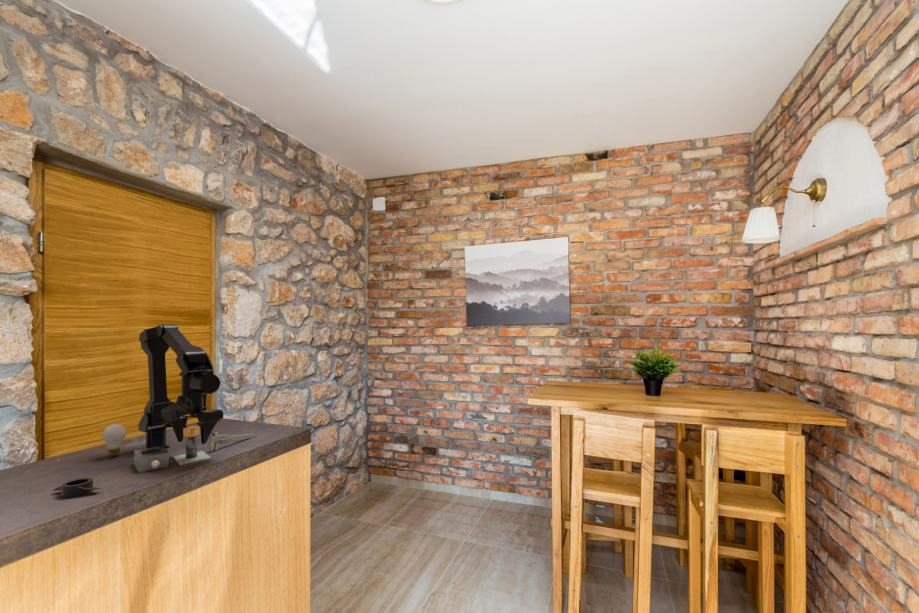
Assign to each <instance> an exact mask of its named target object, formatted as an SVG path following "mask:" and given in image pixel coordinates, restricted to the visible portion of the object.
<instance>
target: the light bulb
mask: <svg viewBox="0 0 919 613" xmlns="http://www.w3.org/2000/svg"><path fill="white" fill-rule="evenodd" d="M101 436H102V441H104V442H105V444H106V446H107V448H108V456H110V457H112V458H115V457H117V456H118V455H119V454H120V452H121V451H120V450H121V446H122V443H123V441H124V439H125V438H126V437H127V429H126V427H125V426H124V425H122V424H120V423H112V424H110V425H108V426H106V428H105V429H104V430H103V431H102V435H101Z"/></svg>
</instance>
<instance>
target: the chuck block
mask: <svg viewBox="0 0 919 613" xmlns="http://www.w3.org/2000/svg"><path fill="white" fill-rule="evenodd" d="M169 456H170V452H169V451H168V450H167V448H164V446H158V447H152V448H146V449H144V448H142V449H135V450H133V465H134V467H135V469H136V470H137V473H144V472H149V471H155V470H158V469H164V468H169V464H170V457H169Z"/></svg>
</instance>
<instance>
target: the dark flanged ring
mask: <svg viewBox="0 0 919 613" xmlns="http://www.w3.org/2000/svg"><path fill="white" fill-rule="evenodd" d="M100 489H102V487H96V486H95V487H94V478H93V477H83V478H75V479H73V480H69V481H66V482H64V483H61V485H60V486H57V487H55V488H54V489H53V490H52V491H53V492H55V491H57V492H58V491H60V498H62V499H71V498H77V497H78V498H79V497H82V496H85V495H88V494H90V493H92V492H93V491H95V490H100Z"/></svg>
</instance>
